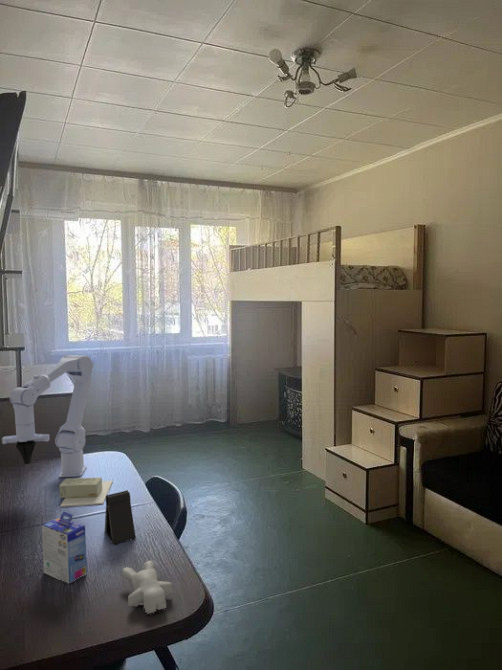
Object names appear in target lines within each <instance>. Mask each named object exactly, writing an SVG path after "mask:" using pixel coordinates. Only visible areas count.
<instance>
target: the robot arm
mask: <svg viewBox="0 0 502 670" xmlns="http://www.w3.org/2000/svg"><path fill="white" fill-rule="evenodd" d="M93 366H94V362H93V361H92V359H91V358H90V356H88V355H87V354H86V355H76V354H75V355H74V354H66V355H64V356H63V357H61V358H60V360H59V361H58V363H56V364H55V365H54V366H53V367H51V368H50V369H49V370H47V372H45V374H41V373H40V374H35V375H34V376H33V378H31V380H29V381H28V382H25V383H24V384H22V386H20V387H16V388H14V389H13V390H12V391H11V393H10V396H9V402H10V403H11V404H12V406H13V407H12V408H13V410H14V419H15V421H14V423H15V434H16V435H7V436H3V437H2V438H1V442H2V443H1V444H3V445H6V444H16V445H15V448H16V449H17V450H18V452H19V453H20V455H21V458H22V459H23V462H24V465H30V463H32V456H33V452H34V449H35V447H36V445H37V442H50V434H49V433H47V434H46V433H45V434H44V433H36V428H35V427H36V426H35V412H34V404H35V403H36V402H37V399H38V397H39V396H40V395H41V394H43V393H45V392H46V391H47V390H48V389H49V388H50V387H51V383H52V382H53V381H56V379H58V378H59V377H61V376H63V375H64V374H65V373H67V374H68V375H70V376H71V378H73V380H74V386H73V389H72V394H71V397H70V404H69V408H68V413H67V417H66V421H65V423H64V424H62V425H61V426H60V427H59V431H58V433H57V434H56V435H55V440H54V443H55V445H56V447H57V448H58V449H59V452H60V459H61V460H60V462H61V472H60V474H58V478H70V477H71V478H72V477H73V478H74V477H75V478H77V477H82V475H83V473H84V472H85V470H86V469H87V466H86V465H85V464H84V451H83V450H84V447H85V445H86V441H87V440H86V429H85V428H84V427H83V426H82V423H83V419H84V414H85V409H86V405H87V400H88V395H89V391H90V385H91V382H92V370H93V368H94V367H93Z"/></svg>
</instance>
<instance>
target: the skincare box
mask: <svg viewBox="0 0 502 670" xmlns="http://www.w3.org/2000/svg"><path fill="white" fill-rule="evenodd" d="M102 481H103V479H102V477H82V478H78V477H75V478H74V477H73V478H65V479H64V480H63V481H62V482H61V483H60V484H59V486H58V487H59V497H60V499H65V498H72V497H97V496H98V495H99V494H100V492H101V491H102Z"/></svg>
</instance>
